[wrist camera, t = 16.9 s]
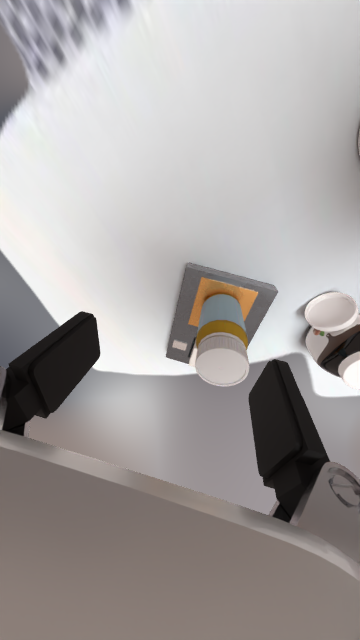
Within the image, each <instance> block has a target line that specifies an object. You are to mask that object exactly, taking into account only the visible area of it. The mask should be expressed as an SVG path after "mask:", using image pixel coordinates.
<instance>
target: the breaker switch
mask: <svg viewBox="0 0 360 640" xmlns="http://www.w3.org/2000/svg"><path fill="white" fill-rule="evenodd" d="M197 350H198V349H197V346H196V338H195V341H194V344H193V347H192V351H191V356H190V360H189V365H190V366H193V367H195V361H196V355H197Z"/></svg>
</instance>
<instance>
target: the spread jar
mask: <svg viewBox="0 0 360 640" xmlns="http://www.w3.org/2000/svg"><path fill="white" fill-rule="evenodd" d="M304 314H305V318H306V320H307V321H308V323H309V324H310V325H311V326H310V328H309V330H308V332H307V335H306V341H305V342H306V347H307V349H308V351H309V352H310V354H311V356H312V357H313V359H314V360H315V362H316V363H317V364H318V365H319V366H320V367H321V368H322V369H324V370H325V371H327V372H329V373H330V374H332V375H335V376H337V377H340V378H342V379H343V381H344V382H345V383H346V384H347V385H348V386H350V387H352V388H355V389H359V390H360V314H358V307H357V304H356V302H355V300H354V299H353V298H352V297H351V296H349V295H347V294H344V293H339V292H332V293H326V294H322V295H320V296H318V297H316V298H314V299H313V300H312V301H310V302H309V304H308V305H307V306H306V309H305V313H304Z"/></svg>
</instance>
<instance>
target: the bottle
mask: <svg viewBox="0 0 360 640" xmlns="http://www.w3.org/2000/svg"><path fill="white" fill-rule="evenodd" d="M196 346H197V349H198V350H197V355H196V361H195V367H196V371H197V373H198V375H199V376H200V377H201V378H202V379H203V380H204V381H206V382H208V383H210V384H213V385H217V386H232V385H235V384H238V383H240V382H242V381H243V380H244V379H245V378H246V376H247V375H248V372H249V361H248V356H247V352H246V350H247V347H248V338H247V333H246V329H245V324H244V319H243V315H242V310H241V306H240V303H239V302H238V300H237V299H236V298H235V297H233V296H232V295H230V294H226V293H217V294H214V295H211V296H210V297H208V298H207V299H206V300H205V302H204V303H203V306H202V309H201V315H200V320H199V325H198V331H197V336H196Z"/></svg>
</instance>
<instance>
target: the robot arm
mask: <svg viewBox="0 0 360 640" xmlns="http://www.w3.org/2000/svg"><path fill="white" fill-rule="evenodd" d="M358 147H359V155H360V129H359V138H358ZM99 357H100V346H99V338H98V330H97V322H96V318H95V317H94V315H93V314H91V313H87V312H83V311H82V312H79V313H78V314H76V315H75V316H74V317H72V318H71V319H70V320H68V321H67V322H65V323H64V324H63V325H61V326H60V327H59V328H58V329H56V330H55V331H53V332H52V333H50V334H49V335H48V336H46V337H45V338H44V339H42V340H41V341H39V342H38V343H37V344H35V345H34V346H32V347H31V348H30V349H28V350H27V351H26V352H24V353H23V354H22V355H20V356H19V357H17V358H16V359H15V360H13V361H12V362H11V363H9V366H10V367H9V368H7V369H6V370H5V368H4V367H1V366H0V640H360V479H359V478H358V477H356V475H354V474H353V473H352V472H351V471H350V470H348V469H347V468H346V467H344V466H342V465H340V464H338V463H335V462H330V460H329V458H328V456H327V453H326V451H325V449H324V447H323V444H322V442H321V439H320V437H319V434H318V432H317V430H316V427H315V425H314V423H313V420H312V418H311V416H310V413H309V411H308V408H307V406H306V404H305V401H304V399H303V397H302V396H301V393H300V391H299V388H298V386H297V384H296V382H295V379H294V377H293V374H292V372H291V370H290V367H289V365H288V363H287V362H284V361H279V360H276V359H274V360H273V361H269V362H268V363H267V365H266V367H265V368H264V370H263V372H262V374H261V375H260V377H259V378H258V380H257V382H256V383H255V385H254V387H253V388H252V390H251V392H250V394H249V405H250V413H251V420H252V428H253V435H254V442H255V449H256V457H257V464H258V471H259V474H260V476H262V477H263V482H264V486H267V487H270V488H274V489H275V492H276V498H277V501H276V502H275V504H274V506H273V508H272V510H271V511H270V513H269V515H266V514H262V513H260V512H257V511H254V510H251V509H248V508H245V507H242V506H240V505H237V504H234V503H230V502H227V501H224V500H221V499H218V498H215V497H212V496H209V495H206V494H203V493H200V492H196V491H194V490H191V489H188V488H184V487H182V486H178V485H175V484H172V483H169V482H166V481H163V480H160V479H157V478H154V477H150V476H147V475H144V474H141V473H138V472H135V471H132V470H129V469H126V468H122V467H119V466H116V465H113V464H110V463H107V462H104V461H101V460H97V459H94V458H91V457H88V456H85V455H81V454H78V453H75V452H72V451H69V450H65V449H62V448H59V447H56V446H53V445H50V444H47V443H43V442H40V441H37V440H34V439H30V438H28V437H29V427H30V420H31V418H32V417H33V416H34V415H36V416H40V417H43V418H47V417H48V416H49V414H50V413H53V412H54V411H56V410H57V409H58V407H59V406H60V405H61V404H62V403H63V401H64V400H65V399H66V398H67V396H68V395H69V394H70V393H71V392H72V390H73V389H74V388H75V386H76V385H77V384H78V383H79V382H80V381H81V379H82V378H83V377H84V376H85V375H86V373H87V372H88V371H89V370H90V368H91V367H92V366H93V365H94V364H95V362H96V361H97V360H98V359H99Z"/></svg>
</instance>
